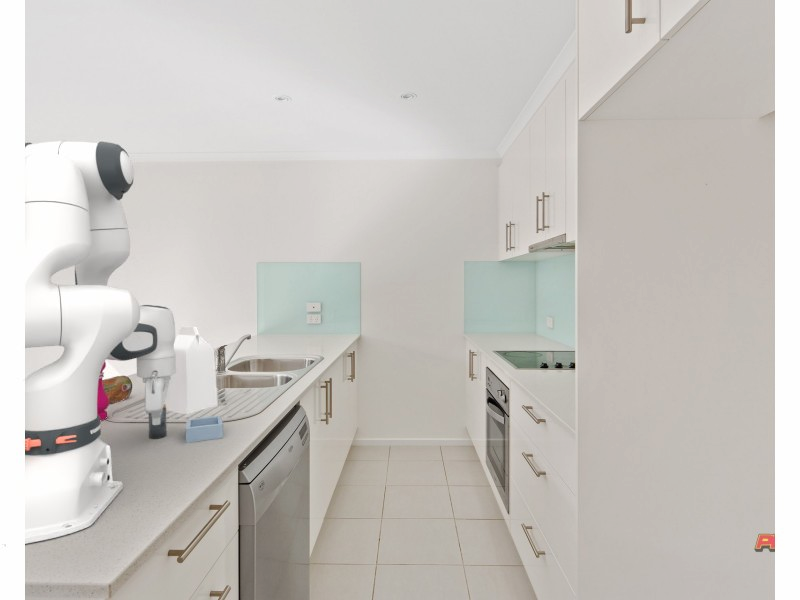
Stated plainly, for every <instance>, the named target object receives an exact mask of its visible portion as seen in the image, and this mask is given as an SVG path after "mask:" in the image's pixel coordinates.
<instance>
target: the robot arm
mask: <svg viewBox="0 0 800 600" xmlns="http://www.w3.org/2000/svg"><path fill="white" fill-rule="evenodd" d="M24 143H25V348H24V349H28V348H42V347H55V346H56V347H57V346H59V347H63V348H64V349H63V352H62V354H61V356H60V357H59V358H58V359H56V360H55V361H53V362H51V363H49V364H47V365H45V366H43V367H41V368H39V369H37V370H35V371H33V372H32V373H31V374H29V375H27V377H25V379H24V380H25V544H31V543H36V542H42V541H46V540H50V539H54V538H59V537H62V536H67V535H69V534H73V533H77V532H78V531H81V530H84V529H86V528H89V527H91V526H92V525H93V524H94V523H95V522H96V521H97V519H98V518H100V516H101V514H102V513H103V512H104V511H105V510H106V509H107V507H108V506H109V505H110V504H111V503H112V502H113V500H114V499H115V498H116V497H117V495H119V494H120V492H122V490H123V488H124V485H123V482H122V481H120V480H119V481H117V480H113V467H112V454H111V453H112V452H111V446H110V445H108V443H106V442H104V441H103V440H102V439H101V437H100V436H101V435H102V434H101V433H102V432H101V431H102V430H101V428H102V423H101V421H100V416H99V415H97V393H98V381H99V375H100V372H101V369H102V366H103V364H104V362H106V361H107V360H108V361H119V362H121V361H122V362H125V361H130V360H134V359H136V377H138V378H142V383H143V384H145V386H144V387H145V388H144V412H145V413H146V414H149V413H151V415H152V424H153V425H159V424H160V423H161V411H162V409H163V406H164V403H165V399H166V396H167V393H168V386H169V380H171V375H173V374H175V373H176V354H175V350H174V342H175V337H176V323H175V317H174V313H173V311H172V310H171V309H170V308H168V307H167V306H161V305H151V304H143V305H139V304H140V303H139V302H138V299H137V298H136V297H135V295H134V294H133V293H132V292H131V291H130V290H128V289H126V288H121V287H117V286H110V285H108V282H109V279H110V277H111V276H112V274H113V273H114V272H115V271H116V270H117V269H118V268H120V267H121V266H122V265H123V264H124V263H125V262H126V261H127V260H128V258H129V256H130V251H131V239H130V232H129V227H128V222H127V218H126V213H125V211H124V207H123V205H122V202H121V200H122V199H123V197H124V195H125V194H126V193H128V192H129V191H130V189H131V187H132V186H133V184H134V176H135V175H134V173H135V172H134V165H133V163H132V160H131V158H130V156H129V154H128V152H127V151H126V150H125V149H124V148H123V147H121V145H119V144H118V143H114V142H108V141H99V142H93V141H91V142H90V141H73V140H72V141H71V140H70V141H69V140H68V141H67V140H52V141H42V142H41V141H40V142H35V143H32V142H24ZM70 267H74V282H75V283H74V284H56V283H55V284H54V283H52V281H51V279H52V277H53V276H54V275H55V274H56V273H58V272H60V271H63V270H65V269H68V268H70ZM25 544H24V545H25ZM2 545H3V544H2ZM4 547H7V546H6V544H4ZM4 547H3V548H4Z"/></svg>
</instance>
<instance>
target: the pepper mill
mask: <svg viewBox="0 0 800 600" xmlns="http://www.w3.org/2000/svg"><path fill="white" fill-rule="evenodd" d="M106 365H107V364H106V361H105V362H104V364H103V366H102V369H101V372H100V375H99V381H98V393H97V415H99V416H100V420H102V421H104V420H103V419H105V418H106V417H107V418H108V411H107V409H108V407H109V406H110V405H109V399H108V396H107V395H106V393H105V391H104V389H103V385H102V380H103V378H105V375H104V374H105V372H103V371H104V370H105V369H106ZM107 418H106V419H107ZM106 419H105V420H106Z"/></svg>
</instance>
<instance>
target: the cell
mask: <svg viewBox="0 0 800 600" xmlns="http://www.w3.org/2000/svg"><path fill="white" fill-rule="evenodd" d="M167 427H168V426H167V411H166V404H164V406H163V409H162V411H161V423H160V424H159V425H153V424H152V415H151V413H148V439H151V440H156V439H157V440H159V439H163V438H166V437H167V435H168V434H167V432H168V431H167Z"/></svg>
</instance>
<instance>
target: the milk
mask: <svg viewBox="0 0 800 600" xmlns="http://www.w3.org/2000/svg"><path fill="white" fill-rule="evenodd" d="M174 350H175V354H176V373H175V374H173V375H171V380H169V386H168V393H167V396H166V399H165V403H164V404H166V412H171V413H178V414H182V415H189V414H193V413H197V412H199V411H200V412H201V411H203V410H206V409H210V408H213V407H217V406H218V405H219V404H218V403H219V402H218V389H217V388H218V387H217V373H216V359H215V349H214V347H213V346H212V345H211V344H210V343H209V342H208V341H206V340H205V339H204V338H203V336H201V335H200V332H199V330H198V327H197V326H193V325H192V326H191V325H180V326H179V330H178V334H177V335H175V342H174Z"/></svg>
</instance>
